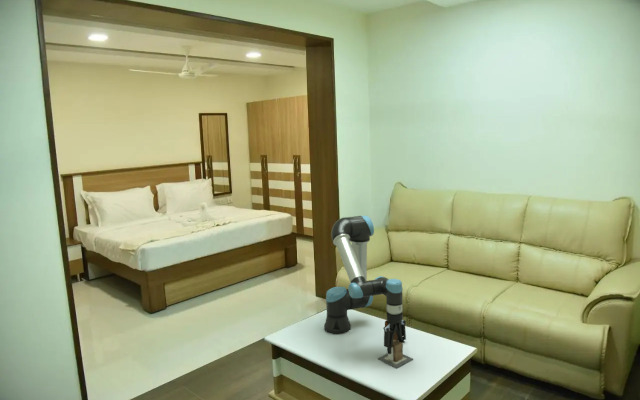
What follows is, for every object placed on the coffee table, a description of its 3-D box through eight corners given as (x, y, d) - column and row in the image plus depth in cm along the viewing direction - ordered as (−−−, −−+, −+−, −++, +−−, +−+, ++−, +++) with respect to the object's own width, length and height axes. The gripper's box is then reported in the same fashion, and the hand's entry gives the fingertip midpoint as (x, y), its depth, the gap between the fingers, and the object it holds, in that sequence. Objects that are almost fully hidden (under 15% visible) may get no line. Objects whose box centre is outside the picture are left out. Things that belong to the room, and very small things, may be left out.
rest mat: (377, 359, 216) (377, 358, 216) (394, 351, 223) (394, 350, 223) (396, 368, 207) (396, 367, 207) (413, 359, 214) (413, 358, 214)
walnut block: (388, 358, 215) (387, 342, 214) (394, 354, 218) (394, 339, 217) (395, 362, 211) (395, 346, 210) (402, 358, 215) (402, 342, 213)
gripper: (387, 319, 203) (387, 366, 206) (413, 308, 215) (413, 353, 218) (375, 315, 209) (376, 360, 212) (401, 304, 220) (402, 348, 224)
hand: (395, 356), depth 215 cm, fingers open, 6 cm apart
